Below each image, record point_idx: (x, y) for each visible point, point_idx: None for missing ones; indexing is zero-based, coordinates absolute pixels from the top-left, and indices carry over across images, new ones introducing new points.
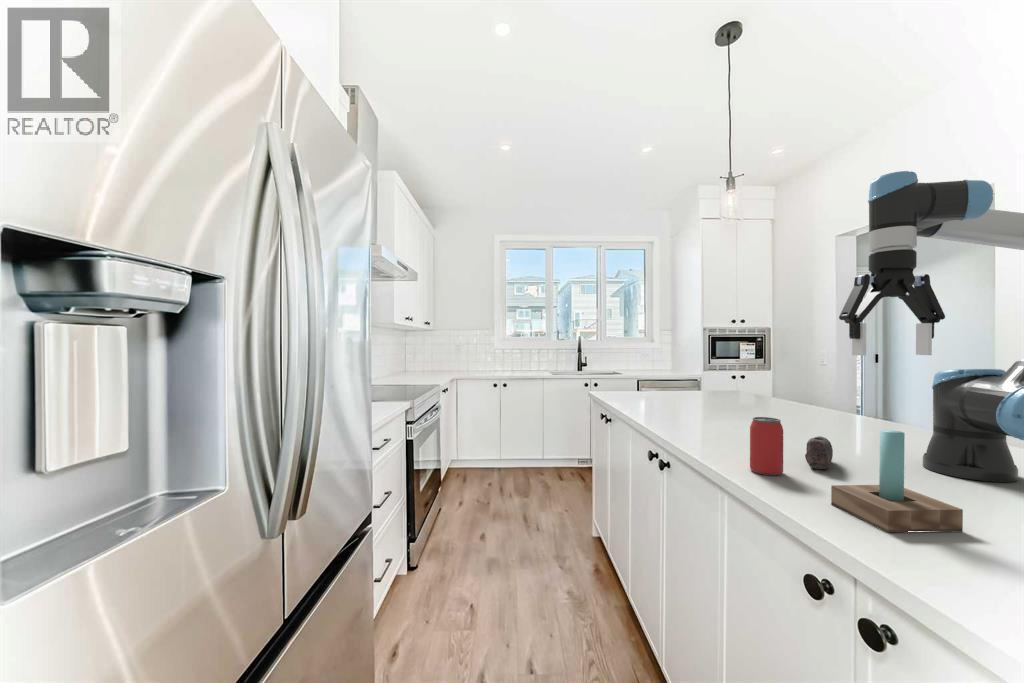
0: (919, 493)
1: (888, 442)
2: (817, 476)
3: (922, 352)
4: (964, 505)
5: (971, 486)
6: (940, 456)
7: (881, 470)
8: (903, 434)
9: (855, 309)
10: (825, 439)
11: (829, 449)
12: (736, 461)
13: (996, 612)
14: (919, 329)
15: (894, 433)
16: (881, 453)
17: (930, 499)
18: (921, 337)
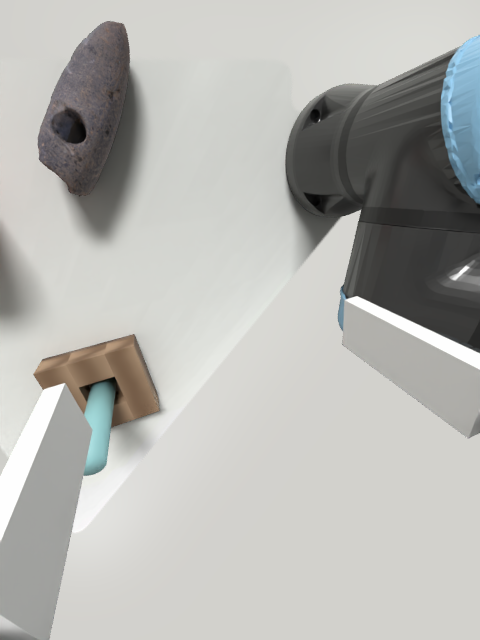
0: (144, 374)
1: None
2: (62, 217)
3: (349, 330)
4: (214, 319)
5: (279, 239)
6: (304, 168)
7: None
8: (101, 469)
9: None
10: (89, 134)
11: (89, 179)
12: None
13: (94, 507)
14: (444, 372)
15: (86, 475)
16: None
17: (144, 390)
18: (400, 359)
